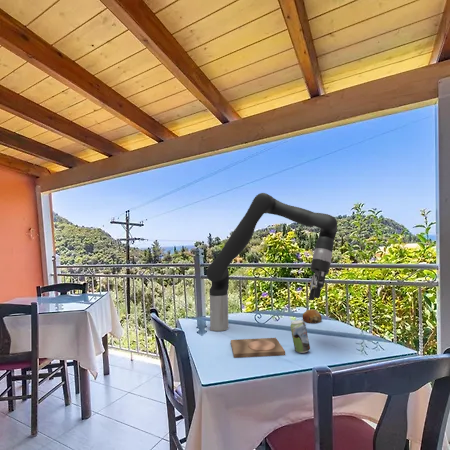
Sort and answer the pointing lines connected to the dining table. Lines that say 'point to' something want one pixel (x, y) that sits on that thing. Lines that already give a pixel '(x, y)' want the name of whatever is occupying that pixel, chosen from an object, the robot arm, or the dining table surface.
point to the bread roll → (312, 316)
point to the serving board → (256, 347)
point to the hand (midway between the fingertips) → (313, 298)
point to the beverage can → (300, 336)
